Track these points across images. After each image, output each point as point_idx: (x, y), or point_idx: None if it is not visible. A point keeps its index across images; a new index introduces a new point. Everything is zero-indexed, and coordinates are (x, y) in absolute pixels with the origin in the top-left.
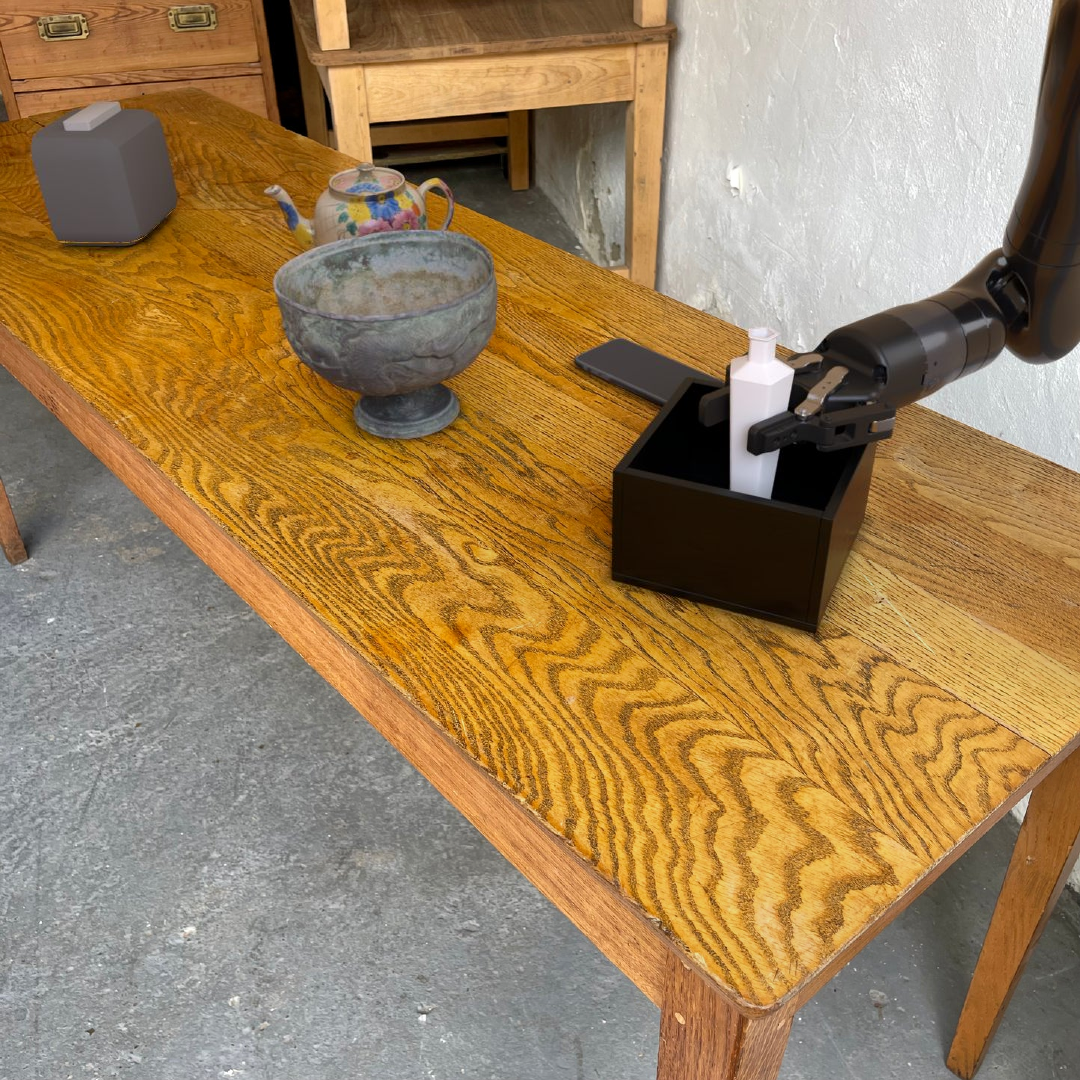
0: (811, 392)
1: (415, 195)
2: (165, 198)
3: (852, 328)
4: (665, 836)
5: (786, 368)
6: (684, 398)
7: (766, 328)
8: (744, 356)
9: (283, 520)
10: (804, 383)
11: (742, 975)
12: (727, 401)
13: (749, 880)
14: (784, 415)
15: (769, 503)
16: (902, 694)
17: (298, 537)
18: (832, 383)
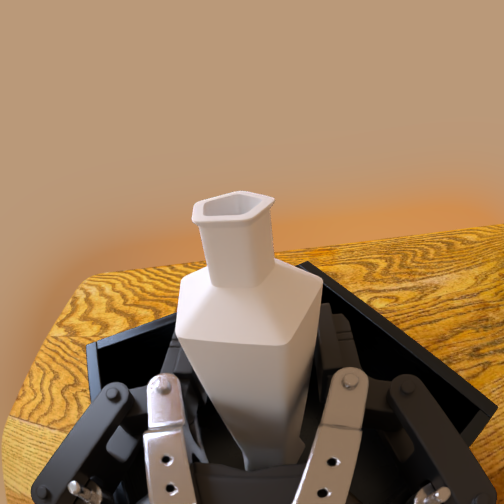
0: (177, 428)
1: None
2: None
3: None
4: (137, 285)
5: (187, 313)
6: (448, 392)
7: (243, 214)
8: (282, 265)
9: (442, 244)
10: (245, 480)
11: (93, 277)
12: (317, 348)
13: (102, 294)
14: (184, 358)
15: (148, 323)
16: (73, 411)
17: (426, 245)
18: (161, 490)
